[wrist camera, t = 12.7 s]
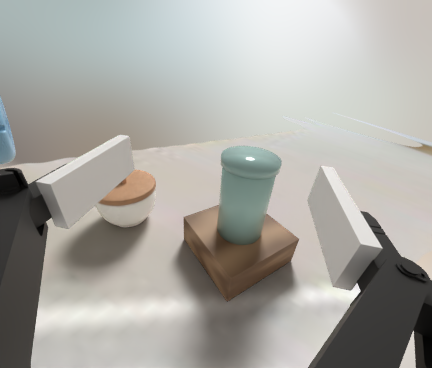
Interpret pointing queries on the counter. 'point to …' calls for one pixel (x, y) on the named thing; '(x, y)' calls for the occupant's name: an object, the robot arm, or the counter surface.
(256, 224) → the canister
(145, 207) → the lidded jar
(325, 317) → the counter surface
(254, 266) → the slab
